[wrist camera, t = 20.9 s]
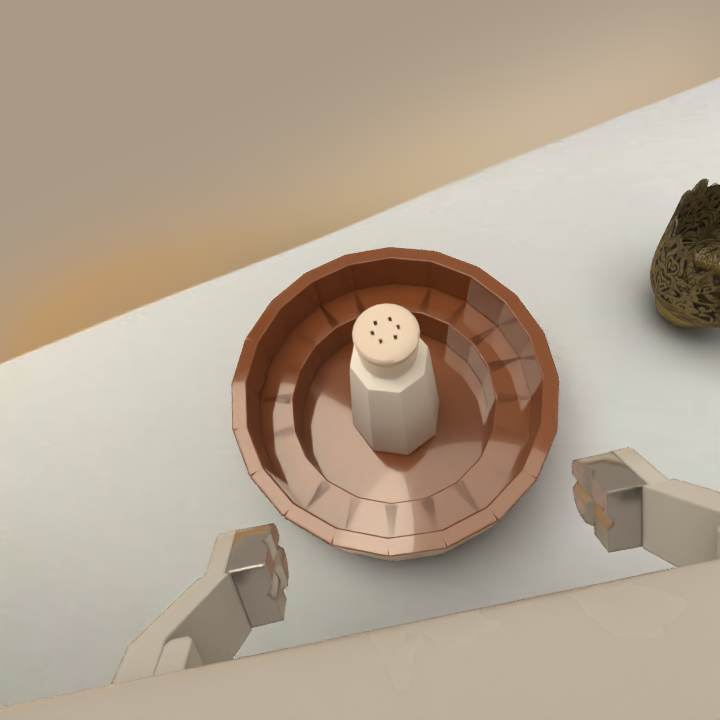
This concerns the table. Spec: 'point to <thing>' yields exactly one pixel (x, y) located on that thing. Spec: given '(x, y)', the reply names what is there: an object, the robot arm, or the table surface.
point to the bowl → (455, 414)
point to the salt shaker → (392, 381)
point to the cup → (690, 261)
